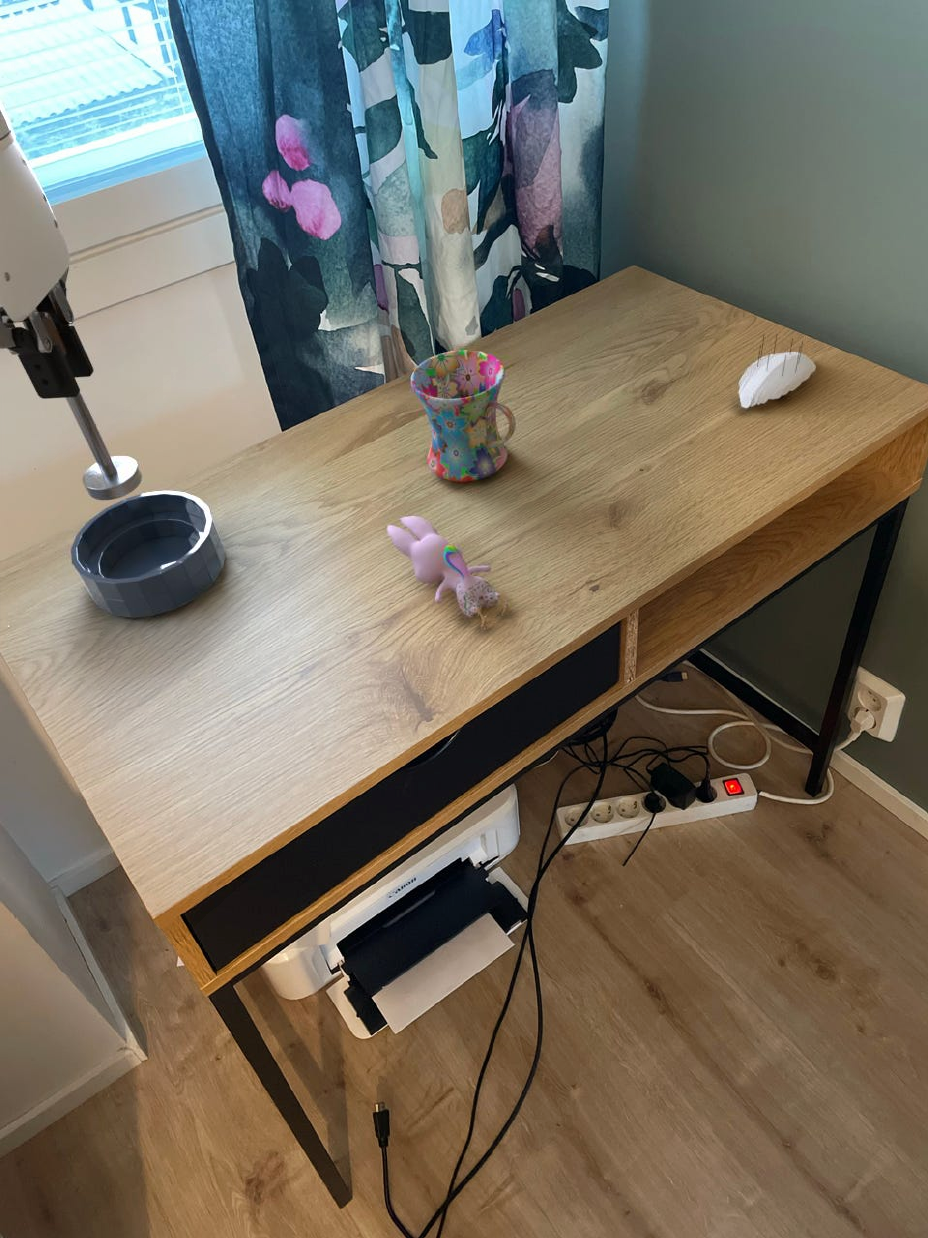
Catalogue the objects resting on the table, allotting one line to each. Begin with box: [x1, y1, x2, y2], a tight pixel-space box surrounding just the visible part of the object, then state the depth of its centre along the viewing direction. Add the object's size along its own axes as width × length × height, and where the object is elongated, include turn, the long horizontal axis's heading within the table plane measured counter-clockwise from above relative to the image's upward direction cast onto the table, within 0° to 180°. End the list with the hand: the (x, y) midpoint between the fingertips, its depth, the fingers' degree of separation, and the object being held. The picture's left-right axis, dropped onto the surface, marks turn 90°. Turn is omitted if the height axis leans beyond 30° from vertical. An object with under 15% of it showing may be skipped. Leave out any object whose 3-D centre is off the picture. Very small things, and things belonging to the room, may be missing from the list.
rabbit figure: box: [386, 515, 512, 631], centre depth 80 cm, size 6×6×15 cm
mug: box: [410, 349, 517, 483], centre depth 91 cm, size 12×9×11 cm
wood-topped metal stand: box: [22, 312, 143, 501], centre depth 70 cm, size 5×5×15 cm
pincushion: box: [737, 335, 817, 409], centre depth 97 cm, size 12×6×6 cm, turn 133°
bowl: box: [70, 490, 227, 619], centre depth 86 cm, size 13×13×5 cm
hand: (67, 383), depth 69 cm, fingers closed on wood-topped metal stand
